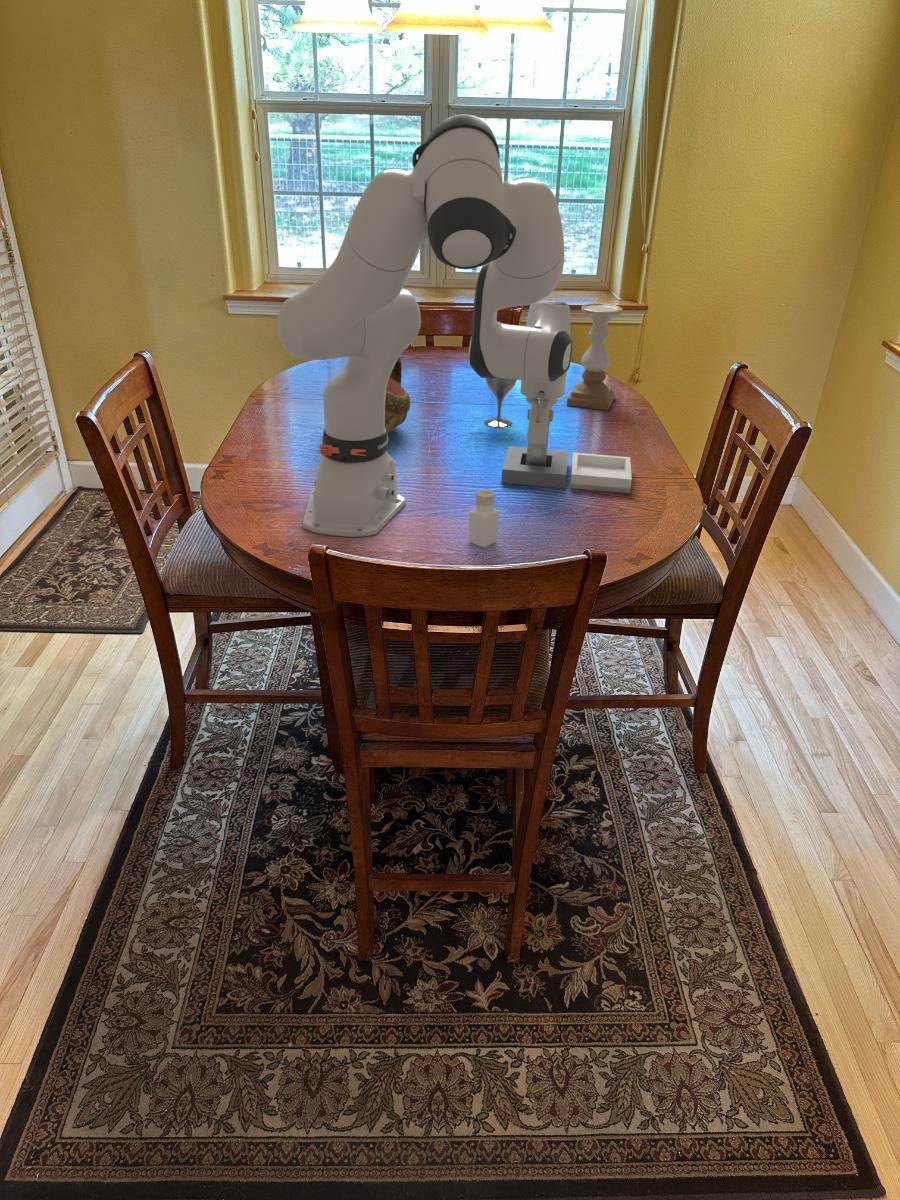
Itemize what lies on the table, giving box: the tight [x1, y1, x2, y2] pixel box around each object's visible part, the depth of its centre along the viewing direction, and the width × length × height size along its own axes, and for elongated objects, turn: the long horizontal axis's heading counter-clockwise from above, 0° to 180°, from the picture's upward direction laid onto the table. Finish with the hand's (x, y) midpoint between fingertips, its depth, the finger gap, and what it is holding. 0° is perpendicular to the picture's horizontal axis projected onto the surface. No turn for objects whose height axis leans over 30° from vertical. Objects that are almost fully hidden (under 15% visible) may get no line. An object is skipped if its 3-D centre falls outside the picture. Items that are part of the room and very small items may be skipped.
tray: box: [569, 452, 633, 494], centre depth 167 cm, size 12×12×3 cm
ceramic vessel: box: [385, 357, 412, 435], centre depth 179 cm, size 17×26×25 cm, turn 161°
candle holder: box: [566, 302, 624, 411], centre depth 204 cm, size 11×11×24 cm
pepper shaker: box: [467, 488, 500, 548], centre depth 140 cm, size 4×4×10 cm
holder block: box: [501, 446, 570, 489], centre depth 168 cm, size 13×13×3 cm
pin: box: [526, 408, 555, 467], centre depth 166 cm, size 5×5×14 cm
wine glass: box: [483, 378, 517, 429], centre depth 191 cm, size 8×8×15 cm
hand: (537, 450), depth 167 cm, fingers open, 4 cm apart
